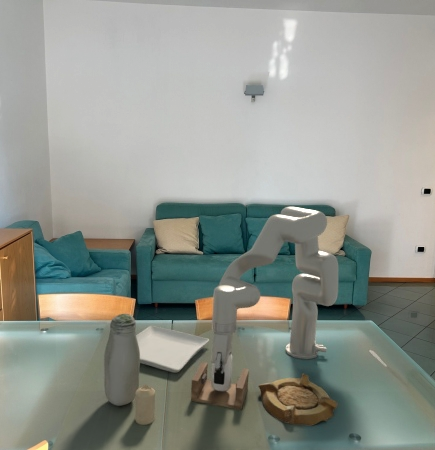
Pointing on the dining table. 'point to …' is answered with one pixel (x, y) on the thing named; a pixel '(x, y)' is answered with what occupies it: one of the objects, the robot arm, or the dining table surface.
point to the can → (227, 377)
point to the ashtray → (297, 401)
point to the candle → (145, 405)
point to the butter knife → (377, 357)
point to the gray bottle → (121, 361)
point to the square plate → (168, 348)
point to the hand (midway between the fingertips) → (221, 377)
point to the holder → (207, 394)
